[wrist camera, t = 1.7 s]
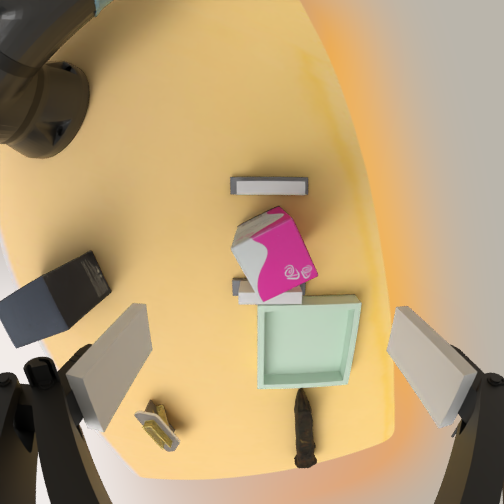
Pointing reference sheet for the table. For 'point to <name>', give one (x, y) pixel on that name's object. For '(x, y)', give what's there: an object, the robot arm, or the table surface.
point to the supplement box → (272, 254)
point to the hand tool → (304, 432)
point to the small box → (53, 301)
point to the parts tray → (307, 342)
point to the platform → (158, 426)
